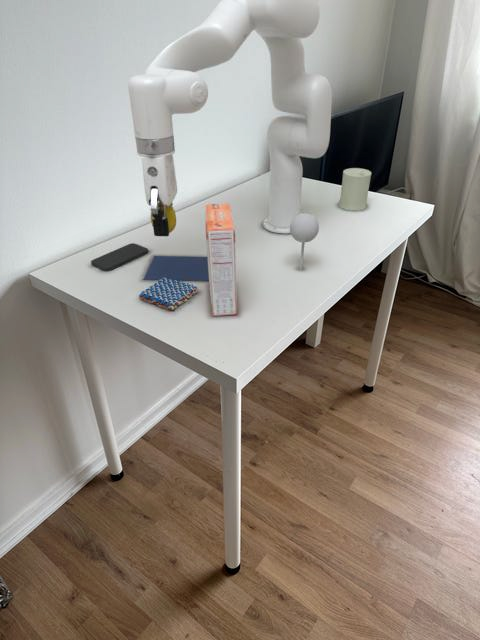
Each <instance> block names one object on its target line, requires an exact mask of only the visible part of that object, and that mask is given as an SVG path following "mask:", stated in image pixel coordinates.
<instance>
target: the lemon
mask: <svg viewBox="0 0 480 640" xmlns="http://www.w3.org/2000/svg"><path fill="white" fill-rule="evenodd" d="M158 204H163V203H162V201H160V202H159V201H158ZM158 208H159V210H161V211H162V207H158ZM166 218H168V226H169V234H171V233H172V232H173V231H174V230H175V228H176V226H177V214H176V211H175V209H174V206H171V205H170V206H167V205H166ZM150 223H151V226H152V227H153V221H152V213H151V212H150Z"/></svg>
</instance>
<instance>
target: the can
mask: <svg viewBox="0 0 480 640" xmlns="http://www.w3.org/2000/svg"><path fill="white" fill-rule="evenodd" d="M371 177H372V171H370V170H369V169H365V168H360V167H351V168H346V169H343V171H342V180H341V181H342V182H341V189H340V197H339V203H338V206H339V208H340V209H343V210H345V211H351V212H358V211H364V210H366V209H367V202H368V195H369V189H370V185H371V184H370V183H371Z"/></svg>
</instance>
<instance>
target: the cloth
mask: <svg viewBox="0 0 480 640" xmlns="http://www.w3.org/2000/svg"><path fill="white" fill-rule="evenodd" d="M166 276H167V278H170V279H171V278H173V279H175V280H176V279H177V280H178V281H183V282H209V273H208V259H207V256H186V255H185V256H184V255H181V256H179V255H176V256H175V255H154V256H153V258H152V260H151V262H150V264H149V266H148V268H147V271H146V273H145V274H144V276H143V279H142V280H143V281H160V280H162V278H165V277H166ZM168 280H169V279H168Z"/></svg>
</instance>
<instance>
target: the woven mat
mask: <svg viewBox="0 0 480 640" xmlns="http://www.w3.org/2000/svg"><path fill="white" fill-rule="evenodd" d="M168 279H169V280H168ZM197 289H198V287H197V286H195V285H194V284H189V283H188V282H184V281H178V280H177V279H176V280H175V279H173V278H171V279H170V278H167V276H166V277H165V278H162V280H156V282H154V283H153V284H152V285H150V286H149V287H147V288H146V289H145V290H142V291H141V293H140V294H139V295H138V297H139V299H141V300H142V301H145V302H147V303H150V304H154V305H157V306H158V307H161V308H163V309H166V310H171V311H173V310H174V309H177V308H178V306H180V305H182V304H183V303H184V302H185V303H187V302H188V299H189V298H191V299H192V297H193V295H195V294H198V290H197Z"/></svg>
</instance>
